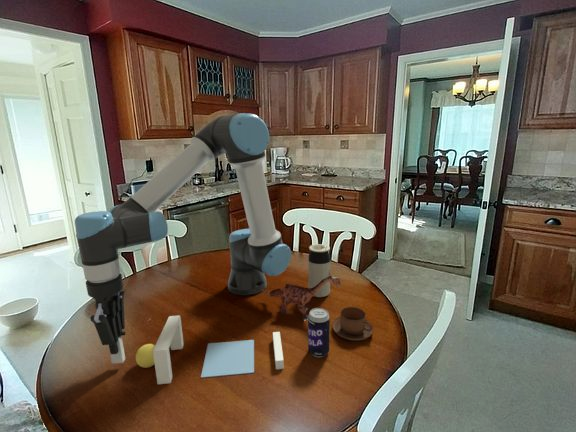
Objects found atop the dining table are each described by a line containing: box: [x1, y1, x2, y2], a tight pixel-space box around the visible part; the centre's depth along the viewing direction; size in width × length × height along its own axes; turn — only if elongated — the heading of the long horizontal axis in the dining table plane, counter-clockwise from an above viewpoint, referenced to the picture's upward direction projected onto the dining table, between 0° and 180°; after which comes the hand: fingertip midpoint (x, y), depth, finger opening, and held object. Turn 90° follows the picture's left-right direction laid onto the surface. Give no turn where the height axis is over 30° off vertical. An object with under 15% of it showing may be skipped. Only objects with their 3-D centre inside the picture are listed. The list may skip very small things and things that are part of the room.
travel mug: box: [308, 243, 331, 298], centre depth 115 cm, size 8×8×18 cm
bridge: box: [153, 315, 185, 385], centre depth 81 cm, size 3×15×9 cm, turn 6°
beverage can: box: [307, 307, 331, 358], centre depth 83 cm, size 6×6×12 cm
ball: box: [135, 343, 156, 368], centre depth 80 cm, size 6×6×6 cm
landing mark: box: [200, 339, 255, 379], centre depth 83 cm, size 13×13×1 cm
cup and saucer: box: [331, 306, 374, 341], centre depth 93 cm, size 12×12×6 cm
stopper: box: [272, 331, 285, 370], centre depth 84 cm, size 2×12×2 cm, turn 6°
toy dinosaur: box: [262, 275, 342, 322], centre depth 103 cm, size 8×30×15 cm, turn 67°
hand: (118, 361), depth 80 cm, fingers closed
